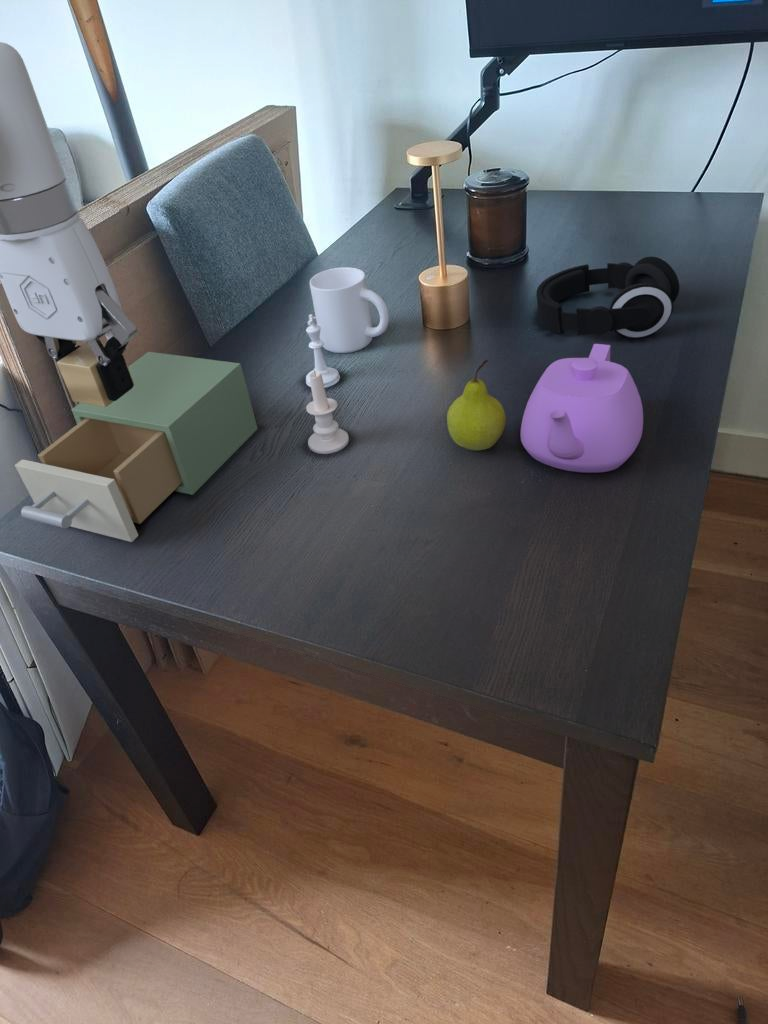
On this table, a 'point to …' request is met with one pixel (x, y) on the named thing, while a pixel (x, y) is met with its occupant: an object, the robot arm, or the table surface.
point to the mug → (345, 309)
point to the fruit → (476, 417)
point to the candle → (324, 420)
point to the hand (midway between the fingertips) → (101, 389)
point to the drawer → (100, 478)
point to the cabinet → (185, 410)
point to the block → (84, 377)
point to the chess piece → (320, 356)
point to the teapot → (583, 414)
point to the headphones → (631, 309)
